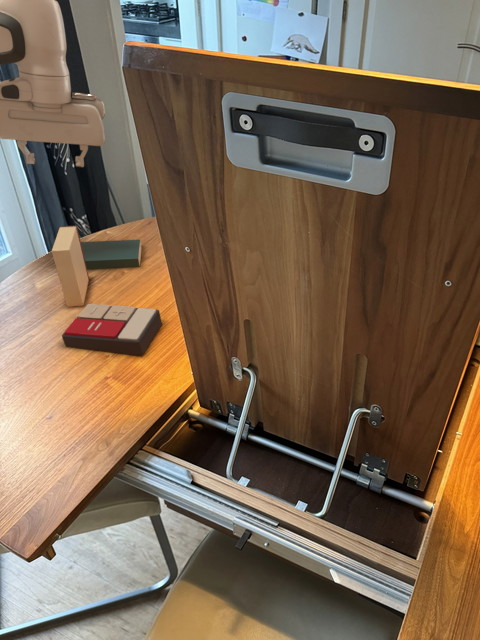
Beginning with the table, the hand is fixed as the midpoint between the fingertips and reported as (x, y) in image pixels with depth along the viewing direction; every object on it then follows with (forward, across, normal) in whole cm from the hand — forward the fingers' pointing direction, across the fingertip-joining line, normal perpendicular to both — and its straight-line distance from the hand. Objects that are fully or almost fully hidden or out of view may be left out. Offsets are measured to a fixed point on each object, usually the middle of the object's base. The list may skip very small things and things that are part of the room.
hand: (55, 164), depth 107 cm
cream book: (+23, -3, +14) cm, 27 cm away
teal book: (+22, -9, -1) cm, 24 cm away
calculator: (+23, -11, +31) cm, 40 cm away
